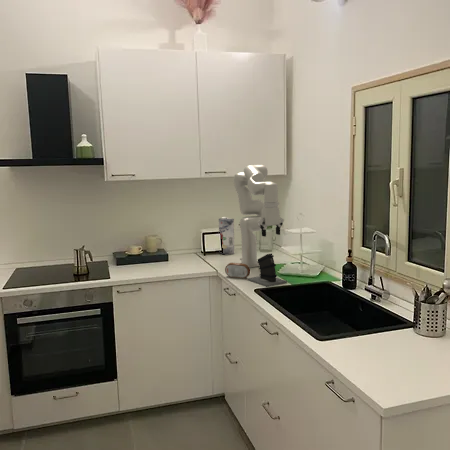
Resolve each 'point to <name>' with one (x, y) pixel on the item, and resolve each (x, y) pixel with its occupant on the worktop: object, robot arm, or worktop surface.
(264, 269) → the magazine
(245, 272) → the tin
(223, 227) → the juice carton
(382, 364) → the worktop surface
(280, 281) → the mat
